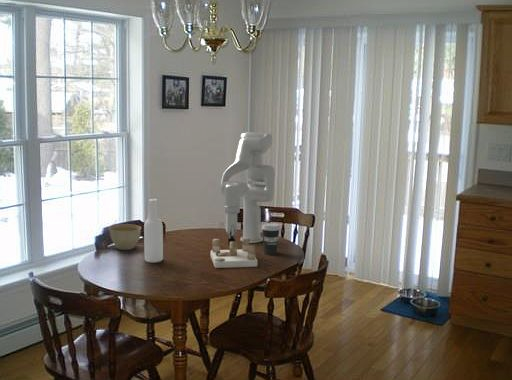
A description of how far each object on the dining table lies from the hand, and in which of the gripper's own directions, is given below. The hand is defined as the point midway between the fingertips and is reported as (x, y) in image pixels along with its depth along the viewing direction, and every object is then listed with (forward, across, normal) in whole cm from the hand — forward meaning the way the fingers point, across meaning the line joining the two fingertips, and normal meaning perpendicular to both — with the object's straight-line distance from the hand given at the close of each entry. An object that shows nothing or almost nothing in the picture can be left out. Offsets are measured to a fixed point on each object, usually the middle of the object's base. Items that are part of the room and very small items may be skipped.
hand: (231, 245), depth 291 cm
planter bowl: (+6, -22, -53) cm, 58 cm away
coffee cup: (+6, -7, +21) cm, 23 cm away
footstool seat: (+6, +6, 0) cm, 9 cm away
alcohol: (+6, +2, -38) cm, 39 cm away
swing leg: (+3, +6, -3) cm, 8 cm away
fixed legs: (+3, +6, 0) cm, 7 cm away
